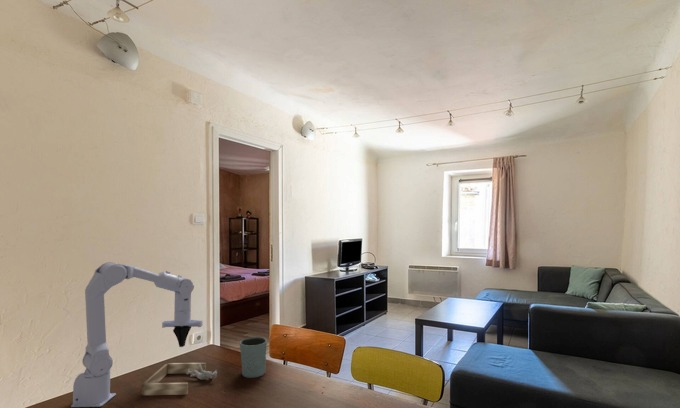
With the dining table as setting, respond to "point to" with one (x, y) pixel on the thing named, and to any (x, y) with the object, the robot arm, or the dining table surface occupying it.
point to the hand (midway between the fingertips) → (182, 346)
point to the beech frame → (157, 388)
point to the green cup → (253, 356)
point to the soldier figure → (204, 373)
